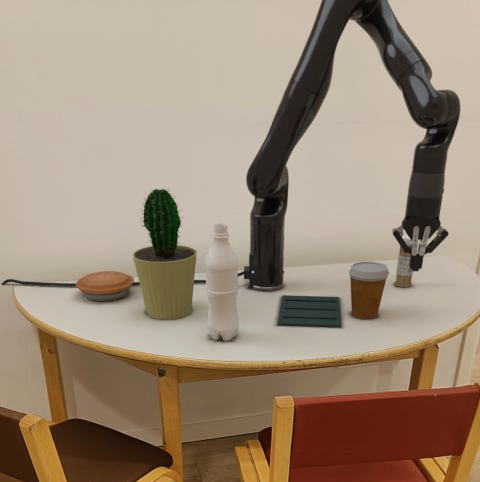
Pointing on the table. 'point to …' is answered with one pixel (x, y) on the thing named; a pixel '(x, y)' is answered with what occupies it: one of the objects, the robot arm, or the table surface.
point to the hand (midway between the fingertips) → (414, 270)
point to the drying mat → (310, 311)
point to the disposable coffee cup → (367, 288)
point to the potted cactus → (165, 260)
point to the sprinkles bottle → (404, 266)
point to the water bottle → (222, 286)
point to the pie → (105, 285)
